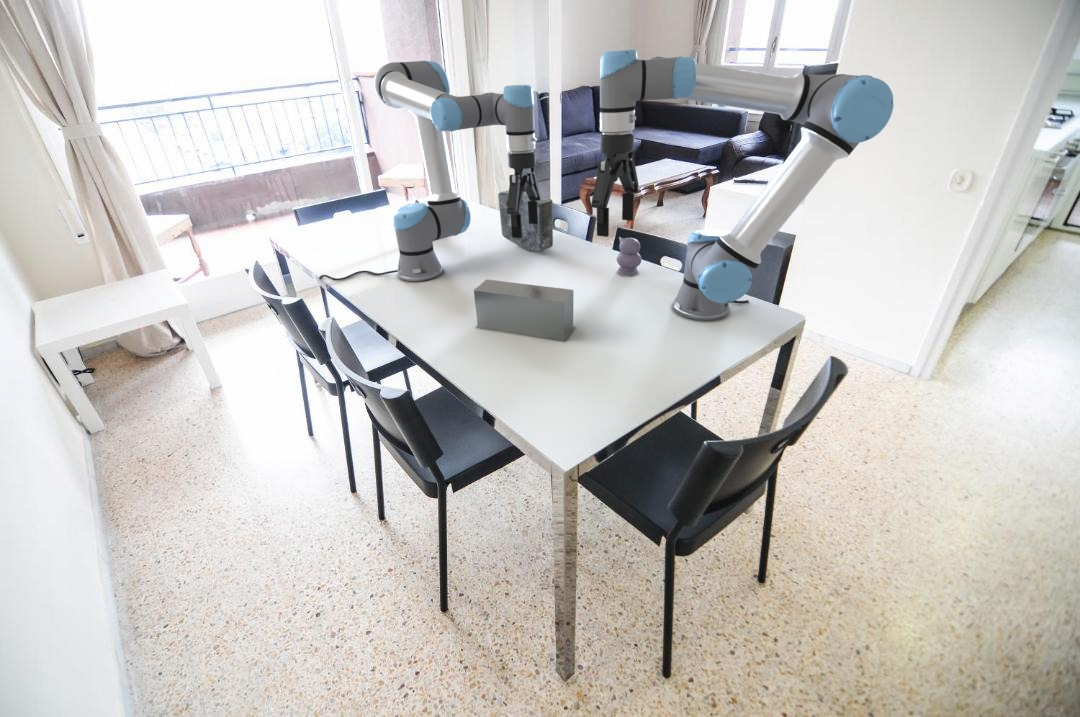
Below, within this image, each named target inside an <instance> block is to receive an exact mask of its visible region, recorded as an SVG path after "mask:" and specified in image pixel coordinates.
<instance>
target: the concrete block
mask: <svg viewBox="0 0 1080 717" xmlns="http://www.w3.org/2000/svg"><path fill="white" fill-rule="evenodd" d="M508 194H509V189H507V190H504V191H501V192H498V195H497V196H498V206H499V207H498V208H499V218H500V226H501V235H502V236H503V238H505V239H506V240H508V241H510V242H511V243H513V244H515V245H517V246H518V247H521V248H523V249H524V250H527V251H531V252H543V251H545V250H548V249H550V248H552V247H553V246H554V230H553V229H554V228H553V227H554V226H553V224H554V222H553V221H554V218H553V216H554V214H553V211H554V210H553V208H554V207H553V204H554V202H553V199H551V198H549V197H546V196H544V195H540V196H539V197H540V201H537V205H538V224H529V216H528V201H531V200H529V198H528V196H527V193H526V191H525V192H523V197H522V202H521V207H520V213H519V214H521V223H522V238H512V226H511V214H507V204H508Z"/></svg>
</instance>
